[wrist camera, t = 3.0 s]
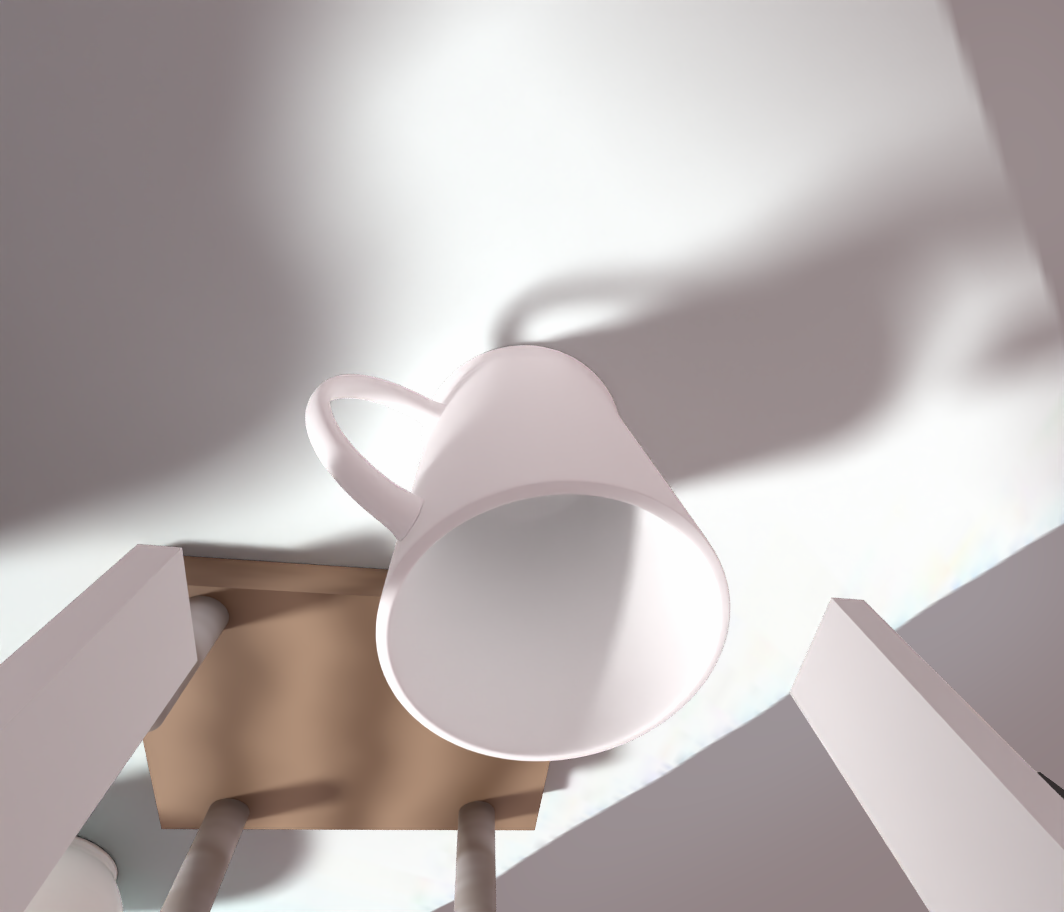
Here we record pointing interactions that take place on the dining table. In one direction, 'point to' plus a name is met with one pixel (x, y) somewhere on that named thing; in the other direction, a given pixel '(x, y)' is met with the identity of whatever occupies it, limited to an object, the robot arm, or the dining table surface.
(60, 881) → the lidded bowl
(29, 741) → the robot arm
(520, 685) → the mug
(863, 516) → the dining table surface
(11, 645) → the dining table surface
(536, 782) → the peg board
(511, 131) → the dining table surface
